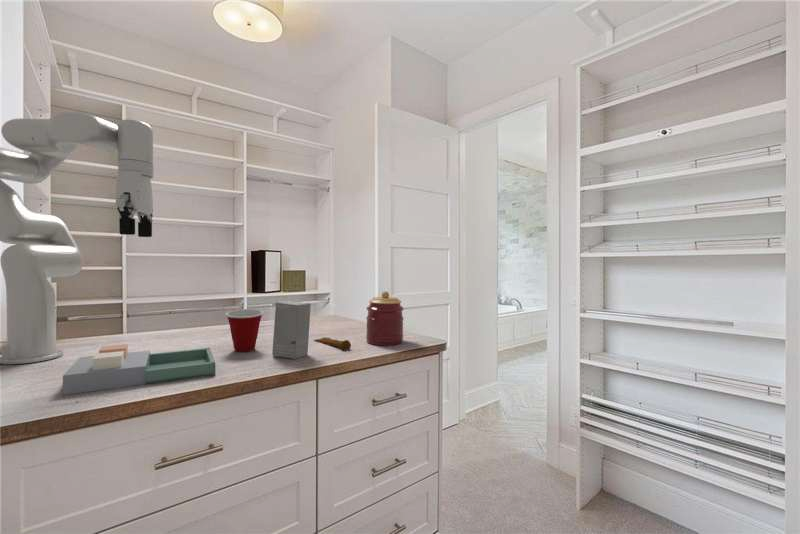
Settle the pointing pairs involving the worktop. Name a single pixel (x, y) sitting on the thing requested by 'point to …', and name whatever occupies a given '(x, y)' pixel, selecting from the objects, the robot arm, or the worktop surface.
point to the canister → (384, 320)
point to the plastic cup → (244, 328)
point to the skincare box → (291, 329)
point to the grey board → (106, 374)
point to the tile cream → (108, 360)
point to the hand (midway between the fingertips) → (136, 235)
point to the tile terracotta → (115, 349)
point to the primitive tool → (335, 343)
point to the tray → (180, 365)
